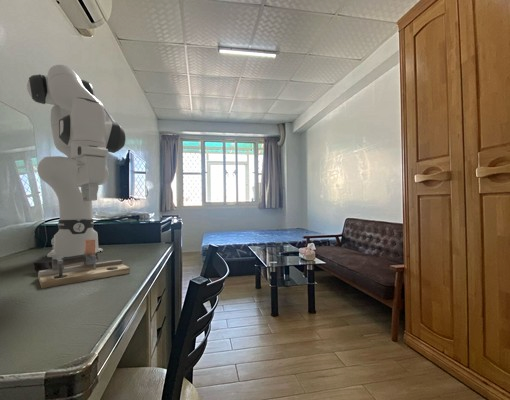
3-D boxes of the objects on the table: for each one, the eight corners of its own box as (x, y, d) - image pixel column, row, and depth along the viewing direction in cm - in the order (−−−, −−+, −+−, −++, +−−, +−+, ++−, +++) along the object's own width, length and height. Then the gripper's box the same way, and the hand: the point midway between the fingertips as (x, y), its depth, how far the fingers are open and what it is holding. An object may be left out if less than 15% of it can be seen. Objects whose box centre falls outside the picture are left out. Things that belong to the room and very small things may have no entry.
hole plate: (38, 278, 73) (38, 258, 73) (117, 266, 86) (117, 249, 86) (41, 288, 64) (41, 265, 64) (129, 273, 77) (129, 253, 77)
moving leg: (83, 265, 78) (83, 239, 78) (93, 264, 80) (93, 238, 80) (89, 270, 72) (89, 242, 73) (99, 268, 74) (99, 241, 74)
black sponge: (47, 276, 77) (47, 263, 77) (31, 273, 80) (31, 260, 80) (101, 264, 91) (101, 253, 91) (85, 262, 95) (85, 251, 95)
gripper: (70, 157, 84) (70, 201, 84) (83, 146, 69) (83, 200, 69) (93, 159, 88) (93, 201, 88) (110, 149, 73) (110, 200, 73)
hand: (89, 201), depth 78 cm, fingers open, 8 cm apart
